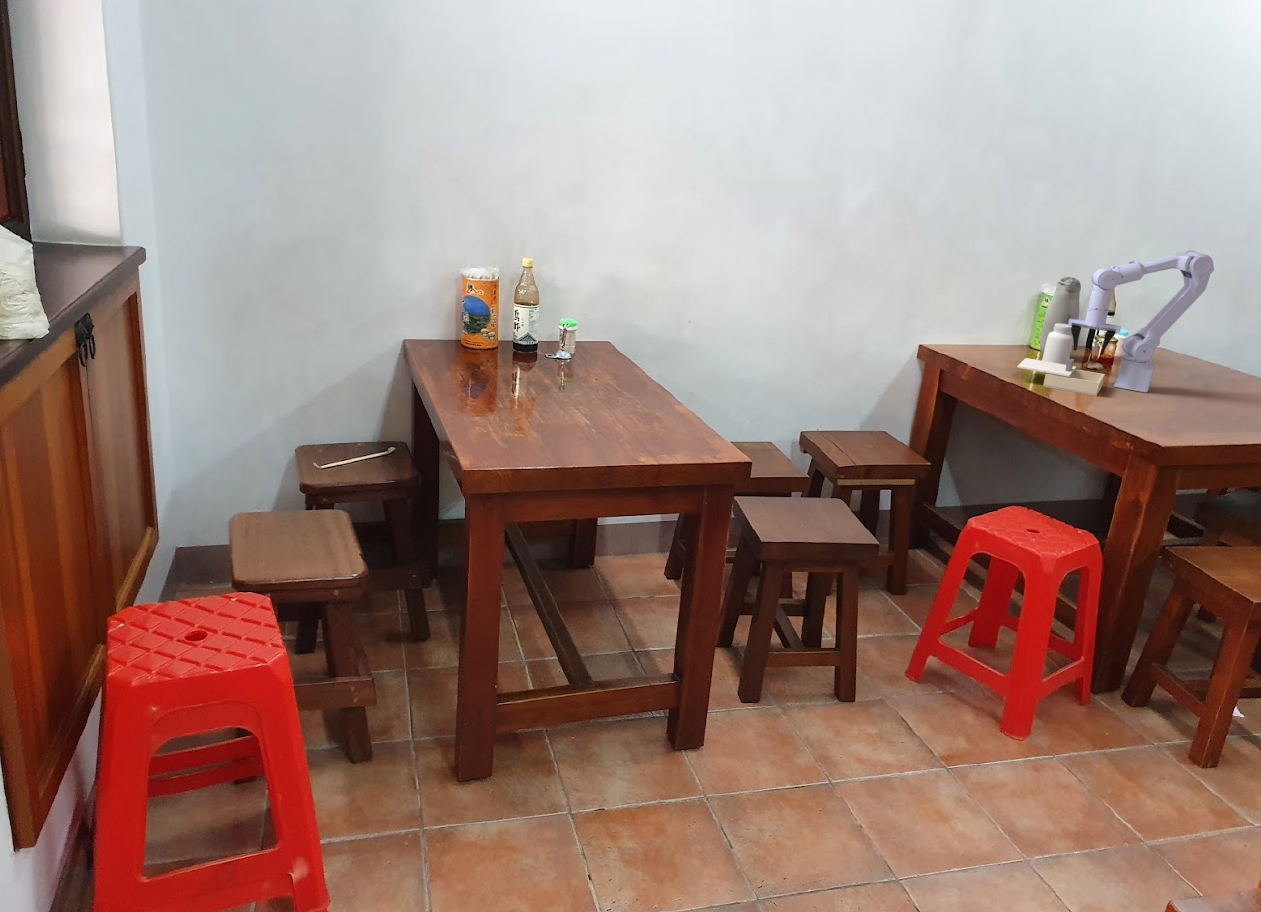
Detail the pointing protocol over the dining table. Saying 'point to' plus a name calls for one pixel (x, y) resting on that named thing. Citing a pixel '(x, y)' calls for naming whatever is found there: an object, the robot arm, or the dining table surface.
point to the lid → (1048, 366)
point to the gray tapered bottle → (1061, 307)
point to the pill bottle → (1058, 344)
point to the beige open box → (1076, 382)
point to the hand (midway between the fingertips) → (1088, 352)
